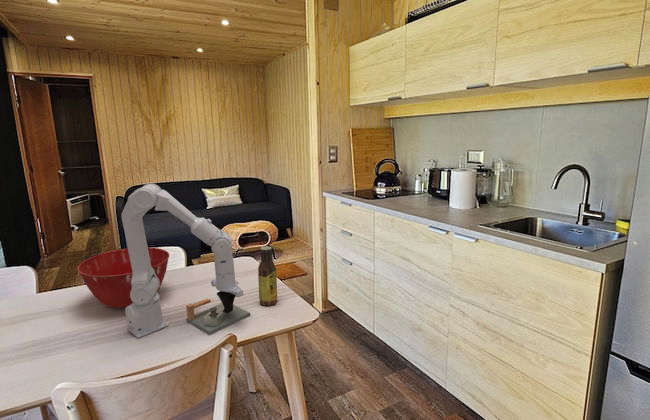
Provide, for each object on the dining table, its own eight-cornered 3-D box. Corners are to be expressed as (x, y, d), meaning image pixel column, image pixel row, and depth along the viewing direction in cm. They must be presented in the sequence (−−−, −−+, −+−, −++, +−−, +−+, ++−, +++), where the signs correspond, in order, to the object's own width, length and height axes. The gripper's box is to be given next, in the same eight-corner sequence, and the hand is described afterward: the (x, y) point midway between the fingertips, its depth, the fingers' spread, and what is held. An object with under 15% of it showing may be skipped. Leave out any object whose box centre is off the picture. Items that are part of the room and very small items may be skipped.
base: (209, 335, 109) (207, 317, 108) (186, 320, 118) (184, 304, 116) (250, 315, 120) (249, 299, 119) (226, 303, 129) (225, 288, 127)
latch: (217, 326, 112) (216, 318, 111) (204, 325, 113) (203, 317, 112) (234, 308, 123) (233, 301, 122) (222, 307, 124) (221, 300, 123)
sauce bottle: (274, 307, 126) (271, 251, 121) (256, 306, 127) (253, 250, 123) (280, 298, 132) (277, 245, 128) (263, 297, 133) (260, 244, 129)
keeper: (190, 320, 116) (189, 306, 115) (187, 318, 117) (186, 305, 116) (211, 311, 121) (210, 298, 120) (208, 309, 123) (207, 296, 122)
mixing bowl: (187, 284, 145) (183, 247, 142) (146, 321, 118) (140, 276, 114) (119, 282, 148) (114, 246, 145) (63, 318, 121) (55, 274, 117)
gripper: (249, 273, 114) (253, 313, 117) (222, 263, 123) (226, 300, 126) (230, 280, 109) (234, 322, 112) (203, 269, 118) (208, 308, 121)
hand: (228, 311), depth 119 cm, fingers closed, pressing on latch
